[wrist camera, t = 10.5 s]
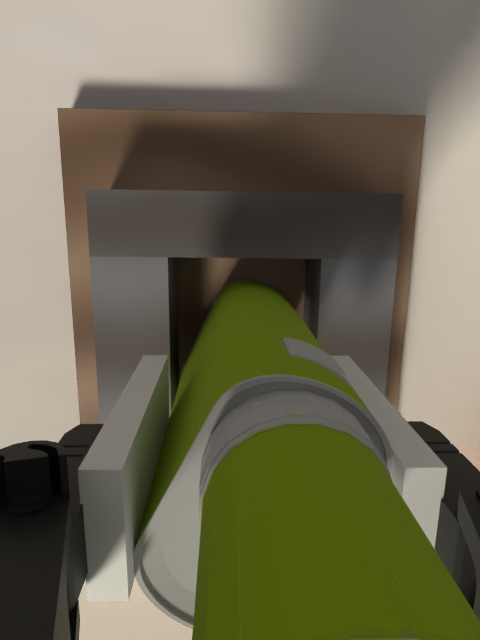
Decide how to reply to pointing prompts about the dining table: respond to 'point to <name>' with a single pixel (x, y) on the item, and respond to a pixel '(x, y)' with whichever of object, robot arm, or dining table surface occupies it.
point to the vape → (284, 497)
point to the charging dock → (231, 171)
